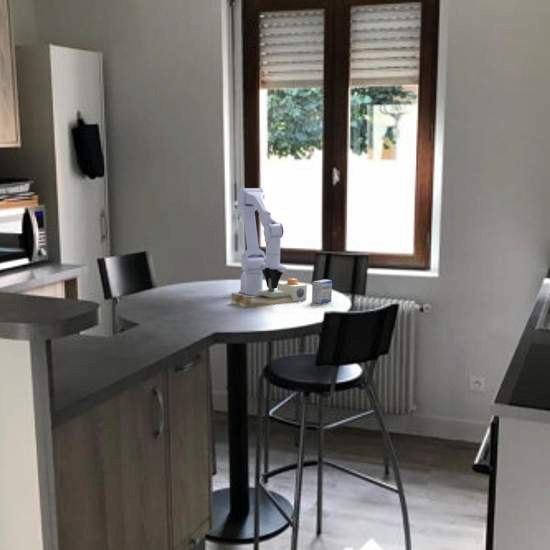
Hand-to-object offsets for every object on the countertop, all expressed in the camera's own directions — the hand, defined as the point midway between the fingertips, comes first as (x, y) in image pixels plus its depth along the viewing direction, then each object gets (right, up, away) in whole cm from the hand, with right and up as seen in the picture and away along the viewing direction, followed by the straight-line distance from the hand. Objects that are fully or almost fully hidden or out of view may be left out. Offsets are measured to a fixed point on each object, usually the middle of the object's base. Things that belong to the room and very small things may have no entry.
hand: (272, 287), depth 297 cm
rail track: (-4, -6, -2) cm, 7 cm away
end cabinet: (+8, -4, +7) cm, 12 cm away
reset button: (+8, -2, +7) cm, 11 cm away
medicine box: (+20, -6, +2) cm, 21 cm away
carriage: (0, -3, 0) cm, 3 cm away
